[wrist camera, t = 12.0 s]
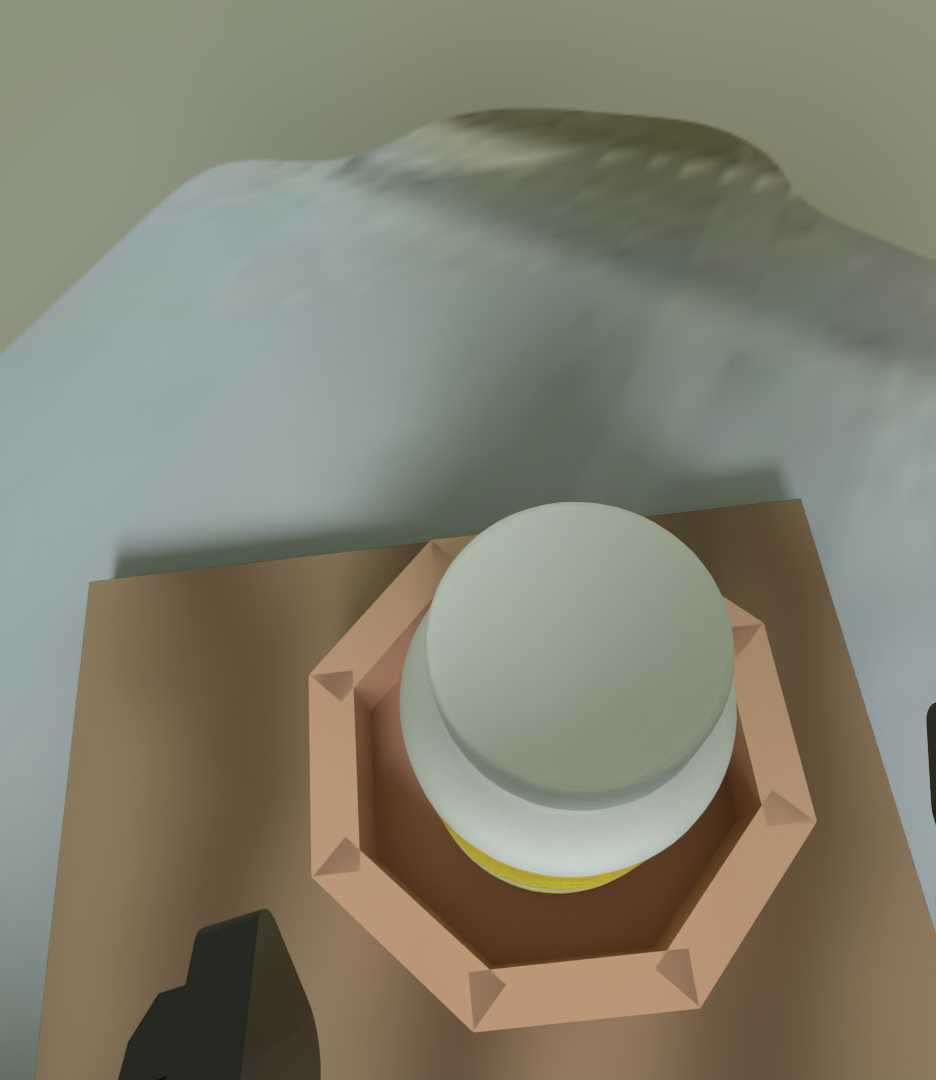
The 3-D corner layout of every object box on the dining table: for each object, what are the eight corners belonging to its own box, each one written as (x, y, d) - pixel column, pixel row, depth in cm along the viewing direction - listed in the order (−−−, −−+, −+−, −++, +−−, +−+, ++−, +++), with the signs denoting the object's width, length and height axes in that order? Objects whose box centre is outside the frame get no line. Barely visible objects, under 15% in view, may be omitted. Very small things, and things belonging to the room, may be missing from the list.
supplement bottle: (702, 860, 18) (870, 799, 9) (466, 923, 18) (410, 921, 9) (626, 635, 21) (703, 416, 12) (415, 688, 20) (331, 506, 12)
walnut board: (51, 1184, 18) (21, 1200, 17) (109, 597, 24) (89, 581, 23) (959, 1090, 18) (987, 1100, 17) (788, 518, 24) (800, 498, 23)
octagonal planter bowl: (341, 1037, 18) (308, 1056, 15) (329, 597, 23) (302, 551, 20) (817, 987, 18) (869, 996, 15) (710, 552, 22) (735, 500, 20)
